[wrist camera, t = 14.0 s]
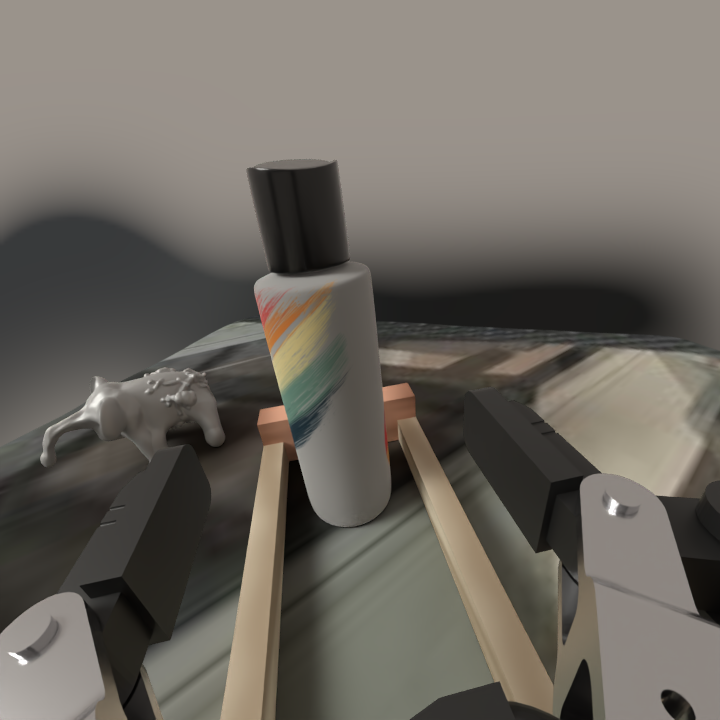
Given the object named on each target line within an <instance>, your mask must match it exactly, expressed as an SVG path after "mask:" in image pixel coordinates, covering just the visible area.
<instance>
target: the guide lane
mask: <svg viewBox="0 0 720 720" xmlns="http://www.w3.org/2000/svg"><path fill="white" fill-rule="evenodd" d="M382 390H383V400H384V410H385V421H386V431H387V441H388V442H390V441H395V440H399V442H400V444H401V447H402V449H403V452H404V454H405V457H406V459H407V462H408V464H409V467H410V470H411V472H412V475H413V477H414V480H415V482H416V485H417V487H418V490H419V492H420V495H421V497H422V500H423V502H424V505H425V508H426V510H427V513H428V515H429V518H430V520H431V523H432V525H433V528H434V530H435V533H436V535H437V538H438V540H439V543H440V545H441V548H442V551H443V553H444V556H445V558H446V561H447V563H448V566H449V568H450V571H451V573H452V576H453V578H454V581H455V583H456V586H457V588H458V591H459V594H460V596H461V599H462V601H463V604H464V606H465V609H466V611H467V614H468V616H469V619H470V621H471V624H472V626H473V629H474V632H475V634H476V637H477V639H478V642H479V644H480V647H481V649H482V652H483V654H484V657H485V659H486V662H487V664H488V667H489V669H490V672H491V675H492V677H493V680H494V682H499V681H500V683H501V686H502V688H503V691H504V693H505V696H506V698H507V700H508V701H513V702H518V703H522V704H526V705H530V706H533V707H535V708H538V709H540V710H543V711H545V712H547V713H550V714H553V689H554V685H553V684H552V682H551V680H550V678H549V676H548V674H547V672H546V670H545V668H544V666H543V664H542V662H541V660H540V658H539V656H538V654H537V652H536V650H535V648H534V647H533V645H532V643H531V641H530V639H529V637H528V635H527V633H526V631H525V629H524V627H523V625H522V623H521V621H520V619H519V617H518V615H517V613H516V611H515V610H514V608H513V606H512V604H511V602H510V600H509V598H508V596H507V594H506V592H505V590H504V588H503V586H502V584H501V582H500V580H499V578H498V576H497V574H496V573H495V571H494V569H493V567H492V565H491V563H490V561H489V559H488V557H487V555H486V553H485V551H484V549H483V547H482V545H481V543H480V541H479V539H478V537H477V536H476V534H475V532H474V530H473V528H472V526H471V524H470V522H469V520H468V518H467V516H466V514H465V512H464V510H463V508H462V506H461V504H460V502H459V500H458V498H457V497H456V495H455V493H454V491H453V489H452V487H451V485H450V483H449V481H448V479H447V477H446V475H445V473H444V471H443V469H442V467H441V465H440V463H439V461H438V460H437V458H436V456H435V454H434V452H433V450H432V448H431V446H430V444H429V442H428V440H427V438H426V436H425V434H424V432H423V430H422V428H421V426H420V424H419V423H418V421H417V419H416V415H415V396H414V394H413V392H412V390H411V389H410V387H409V385H408V383H404V384H399V385H393V386H388V387H382ZM257 427H258V430H259V433H260V436H261V439H262V442H263V445H264V448H263V454H262V460H261V466H260V473H259V479H258V485H257V492H256V498H255V504H254V511H253V517H252V523H251V530H250V536H249V542H248V549H247V555H246V561H245V568H244V574H243V580H242V587H241V593H240V599H239V606H238V612H237V618H236V625H235V631H234V637H233V644H232V650H231V656H230V662H229V669H228V675H227V681H226V688H225V694H224V700H223V707H222V713H221V719H220V720H275V713H276V694H277V675H278V657H279V638H280V619H281V600H282V582H283V563H284V544H285V526H286V507H287V488H288V470H289V461H294V460H299V459H298V456H297V452H296V448H295V444H294V441H293V437H292V433H291V429H290V426H289V422H288V418H287V414H286V411H285V407H284V405H283V406H278V407H272V408H266V409H261V410H260V413H259V418H258V423H257Z"/></svg>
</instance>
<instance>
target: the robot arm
mask: <svg viewBox="0 0 720 720" xmlns="http://www.w3.org/2000/svg"><path fill="white" fill-rule="evenodd" d="M463 435H464V440H465V444H466V447H467V449H468V451H469V453H470V454H471V456H472V457H473V459H474V461H475V462H476V464H477V465H478V467H479V468H480V470H481V471H482V473H483V474H484V476H485V477H486V479H487V480H488V482H489V483H490V485H491V486H492V488H493V489H494V491H495V492H496V494H497V495H498V497H499V498H500V500H501V501H502V503H503V504H504V506H505V507H506V509H507V510H508V512H509V513H510V515H511V516H512V518H513V519H514V521H515V522H516V524H517V526H518V527H519V529H520V530H521V532H522V533H523V535H524V536H525V538H526V539H527V541H528V542H529V544H530V545H531V547H532V548H533V550H534V551H535V553H539V552H543V551H547V550H551V549H553V550H554V552H555V553H556V555H557V556H558V557H559V559H560V561H559V566H558V652H557V664H556V671H555V678H554V689H553V714H550V713H547V712H545V711H543V710H540V709H538V708H535V707H533V706H530V705H526V704H522V703H518V702H513V701H508V700H507V698H506V696H505V693H504V691H503V688H502V686H501V683H500V681H499V682H495V683H491V684H488V685H484V686H481V687H477V688H473V689H470V690H466V691H463V692H459V693H455V694H452V695H448V696H445V697H441V698H439V699H437V700H436V701H434V702H433V703H432V704H430V705H429V706H428V707H426V708H425V709H424V710H422V711H421V712H419V713H418V714H417V715H415V716H414V717H413V718H411V719H410V720H720V481H715V482H712V483H710V484H709V485H708V486H707V487H706V489H705V491H704V492H703V494H702V496H701V498H700V499H697V498H682V497H667V496H655V495H654V494H653V493H652V492H651V491H649V490H648V489H646V488H645V487H643V486H642V485H640V484H638V483H636V482H634V481H632V480H630V479H627V478H625V477H621V476H618V475H613V474H604V473H601V472H600V471H599V470H598V469H597V468H595V467H594V466H593V465H592V464H591V463H590V462H589V461H588V460H587V459H586V458H585V457H583V456H582V455H581V454H580V453H579V452H578V451H577V450H576V449H575V448H574V447H572V446H571V445H570V444H569V443H568V442H567V441H566V440H565V439H564V438H563V437H562V436H560V435H559V434H558V433H555V430H554V429H553V428H552V427H551V426H550V425H548V424H547V423H545V422H544V420H543V419H542V418H541V417H540V416H539V415H538V414H536V413H535V412H534V411H533V410H532V409H531V408H529V407H527V406H525V405H523V404H521V403H519V402H517V401H515V400H511V401H507V400H506V399H505V398H504V397H503V396H502V395H501V394H500V393H499V392H498V391H497V390H496V389H495V388H493V387H488V388H483V389H478V390H472V391H468V392H466V394H465V401H464V426H463ZM210 503H211V489H210V484H209V482H208V479H207V477H206V475H205V473H204V470H203V468H202V466H201V464H200V462H199V459H198V457H197V455H196V453H195V451H194V449H193V447H192V446H191V445H190V444H185V445H179V446H174V447H169V448H164V449H159V450H157V451H156V453H155V454H154V456H153V458H152V459H151V461H150V463H149V464H148V466H147V468H146V470H145V471H143V472H139V473H138V474H137V475H136V476H135V477H134V478H133V479H131V480H130V481H129V482H128V483H127V484H126V485H125V486H124V487H123V488H122V489H121V491H120V492H119V494H118V495H117V497H116V499H115V500H114V502H113V503H112V505H111V507H110V511H108V512H107V513H106V515H105V516H104V518H103V520H102V521H101V523H100V524H101V526H100V527H98V528H97V529H96V531H95V533H94V534H93V536H92V537H91V539H90V541H89V542H88V544H87V546H86V547H85V549H84V550H83V552H82V554H81V555H80V557H79V559H78V560H77V562H76V563H75V565H74V567H73V568H72V570H71V572H70V573H69V575H68V576H67V578H66V580H65V581H64V583H63V584H62V586H61V588H60V589H59V591H58V592H57V594H56V595H54V596H51V597H49V598H47V599H45V600H43V601H41V602H39V603H37V604H36V605H34V606H32V607H31V608H30V609H28V610H27V611H25V612H24V613H23V614H21V615H20V616H19V617H18V618H17V619H15V620H14V621H13V622H12V623H11V624H10V625H9V626H8V627H7V628H6V629H5V630H4V631H3V632H2V633H1V634H0V720H163V717H162V714H161V711H160V709H159V706H158V703H157V700H156V697H155V694H154V691H153V688H152V685H151V682H150V680H149V677H148V674H147V671H146V669H145V667H144V665H143V664H142V663H143V660H144V657H145V654H146V651H147V648H148V645H152V644H156V643H160V642H164V641H168V640H170V639H171V636H172V632H173V629H174V626H175V622H176V619H177V615H178V612H179V609H180V605H181V602H182V599H183V595H184V592H185V588H186V585H187V582H188V578H189V575H190V572H191V568H192V565H193V561H194V558H195V555H196V551H197V548H198V545H199V541H200V538H201V534H202V531H203V528H204V524H205V521H206V518H207V514H208V511H209V507H210Z"/></svg>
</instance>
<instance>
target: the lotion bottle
mask: <svg viewBox="0 0 720 720" xmlns="http://www.w3.org/2000/svg"><path fill="white" fill-rule="evenodd" d="M247 176H248V181H249V185H250V190H251V194H252V199H253V203H254V208H255V212H256V217H257V221H258V226H259V230H260V235H261V239H262V244H263V248H264V252H265V257H266V261H267V266H268V269H269V271H270V272H271V274H268V275H266V276H264V277H262V278H261V279H259V280H258V281H257V282H256V283H255V286H254V292H255V296H256V301H257V305H258V309H259V313H260V317H261V321H262V325H263V328H264V332H265V336H266V340H267V343H268V347H269V351H270V355H271V358H272V362H273V366H274V370H275V373H276V377H277V381H278V385H279V388H280V392H281V396H282V400H283V403H284V407H285V411H286V414H287V418H288V422H289V426H290V429H291V433H292V437H293V441H294V444H295V448H296V452H297V456H298V459H299V463H300V467H301V471H302V474H303V478H304V482H305V485H306V489H307V493H308V496H309V499H310V502H311V505H312V507H313V509H314V511H315V512H316V514H317V515H318V516H319V517H320V518H321V519H322V520H324V521H325V522H327V523H329V524H331V525H334V526H339V527H354V526H359V525H362V524H365V523H367V522H369V521H371V520H373V519H374V518H375V517H377V516H378V515H379V514H380V513H381V512H382V511H383V510H384V508H385V507H386V505H387V503H388V501H389V499H390V494H391V472H390V461H389V451H388V441H387V431H386V421H385V410H384V400H383V390H382V380H381V370H380V359H379V349H378V339H377V329H376V319H375V309H374V300H373V290H372V282H371V274H370V271H369V268H368V267H367V266H366V265H364V264H360V263H356V262H348V261H349V260H350V251H349V243H348V236H347V228H346V221H345V213H344V206H343V199H342V192H341V184H340V176H339V169H338V163H337V160H333V161H331V162H328V161H324V160H316V159H294V160H281V161H273V162H266V163H262V164H258V165H256V166H254V168H247Z"/></svg>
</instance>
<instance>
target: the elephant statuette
mask: <svg viewBox="0 0 720 720" xmlns="http://www.w3.org/2000/svg"><path fill="white" fill-rule="evenodd" d="M205 376H206V373H202V374H200V373H199V372H195V371H194V370H191V369H190V368H187V369H186V370H184V371H182V372H176V370H175V369H173V368H171V369H169V368H166V367H164V368H162V369H158V370H157V371H156V372H152V373H151V374H144V377H143V378H139V379H136V380H131V381H127V382H122V383H117V382H108V381H107V380H106V379H104V378H102V377H93V378H92V379H91V382H90V391H91V396H90V397H89V398H88V400H87V401H86V405H85V406H84V407H83V408H82V409H81V410H80V411H78V412H76V413H75V414H73V415H71V416H70V417H68V418H66V419H64V420H62V421H60V422H59V423H57V424H55V425H53V426H51V427H49V428H48V429H47V430H46V432H45V435H44V439H43V453H42V455H41V463H42V464H43V465H44V466H45V467H47V468H50V467H52V466H53V465H54V464H55V462H56V454H55V450H54V447H55V444H56V442H57V440H58V439H59V437H60V436H61V435H62V434H64V433H66V432H69V431H73V430H78V429H93V430H95V431H96V433H97V434H98V436H99V437H100V438H101V439H102V440H105V441H113V440H117V439H121V438H125V437H126V438H128V439H130V440H131V441H132V442H134V443H135V445H136V446H137V447H138V449H139V450H140V451H141V452H142V453H143V454H144V455H145V456H146V457H147V459H148V460H149V463H150V461H151V459H152V458H153V456H154V454H155V453H156V451H157V450H159V449H164V448H169V447H168V444H167V441H166V433H167V431H168V430H169V429H170V428H172V429H173V430H175V429H176V426H179V427H181V426H182V425H183V424H184V423H185V422H186V423H195V422H196V423H198V424H199V425H200V426H201V427H202V429H203V432H204V435H205V440H206V442H207V443H208V444H209V445H211V446H213V447H218V446H220V445H222V444H223V442H224V440H225V434H224V431H223V429H222V426H221V422H220V419H219V415H218V411H217V402H216V399H215V397H214V396H213V394H212V393H211V392H210V387H209V386H208V385H207V384H208V381H207V380H205Z"/></svg>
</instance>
